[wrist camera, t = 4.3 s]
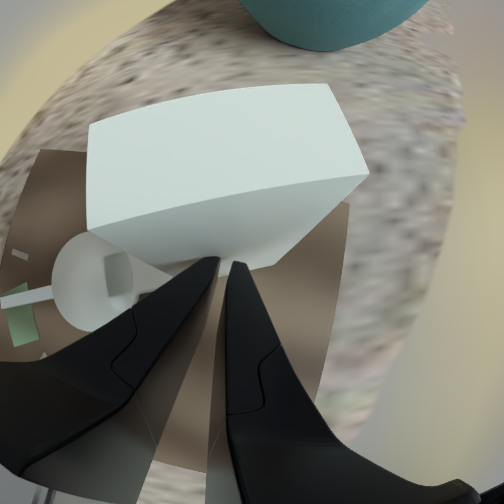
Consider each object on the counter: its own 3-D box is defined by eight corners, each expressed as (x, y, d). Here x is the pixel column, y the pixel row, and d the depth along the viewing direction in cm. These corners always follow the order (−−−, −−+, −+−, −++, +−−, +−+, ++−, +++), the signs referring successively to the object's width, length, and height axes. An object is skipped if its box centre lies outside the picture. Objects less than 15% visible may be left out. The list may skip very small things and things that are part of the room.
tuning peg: (281, 294, 14) (399, 264, 4) (12, 341, 11) (-107, 346, 2) (257, 200, 14) (301, 40, 5) (3, 266, 12) (-108, 229, 3)
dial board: (284, 472, 13) (288, 482, 12) (0, 372, 12) (-10, 374, 11) (342, 210, 16) (350, 203, 15) (48, 156, 16) (40, 148, 14)
